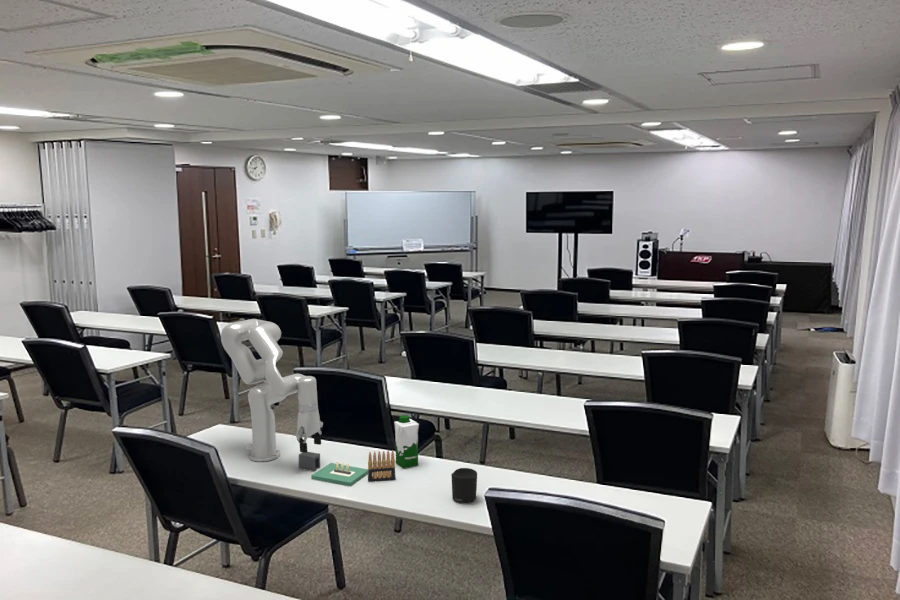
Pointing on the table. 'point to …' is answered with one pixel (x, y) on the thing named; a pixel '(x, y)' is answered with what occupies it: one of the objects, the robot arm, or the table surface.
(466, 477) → the pen holder
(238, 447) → the table surface
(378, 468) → the ammunition clip
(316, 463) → the block
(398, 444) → the milk carton
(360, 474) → the header board
